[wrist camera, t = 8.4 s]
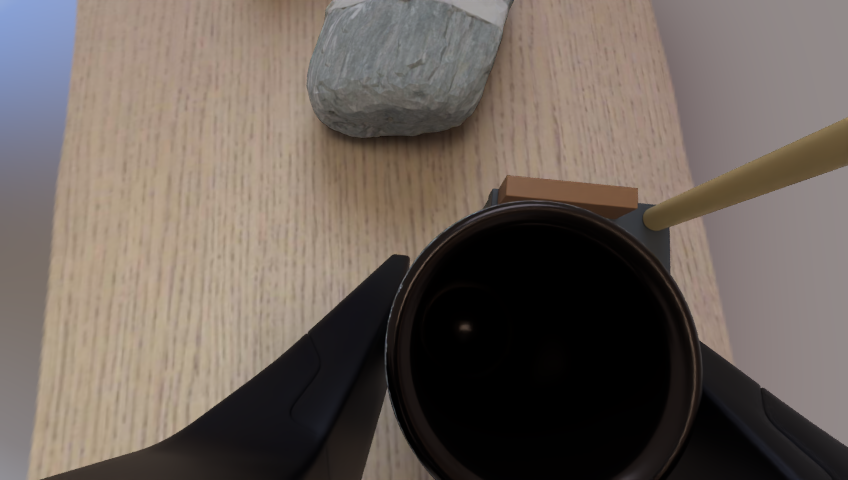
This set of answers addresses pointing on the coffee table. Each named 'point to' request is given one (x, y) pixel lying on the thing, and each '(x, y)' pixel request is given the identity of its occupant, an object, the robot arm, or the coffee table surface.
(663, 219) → the stand with wooden pole
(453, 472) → the planter
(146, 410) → the coffee table surface
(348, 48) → the decorative stone
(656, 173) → the coffee table surface
